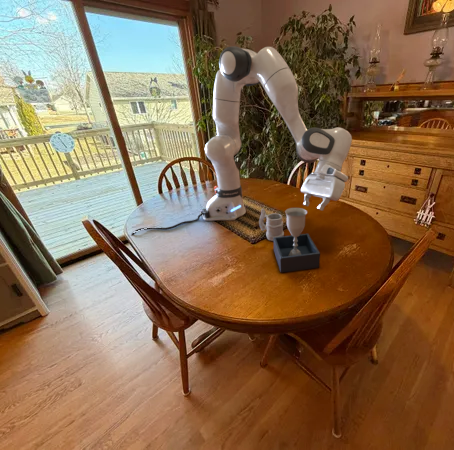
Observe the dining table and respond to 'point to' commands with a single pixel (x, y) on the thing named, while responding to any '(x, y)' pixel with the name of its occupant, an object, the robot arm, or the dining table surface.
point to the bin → (296, 262)
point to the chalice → (295, 225)
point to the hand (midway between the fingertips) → (312, 207)
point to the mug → (272, 224)
